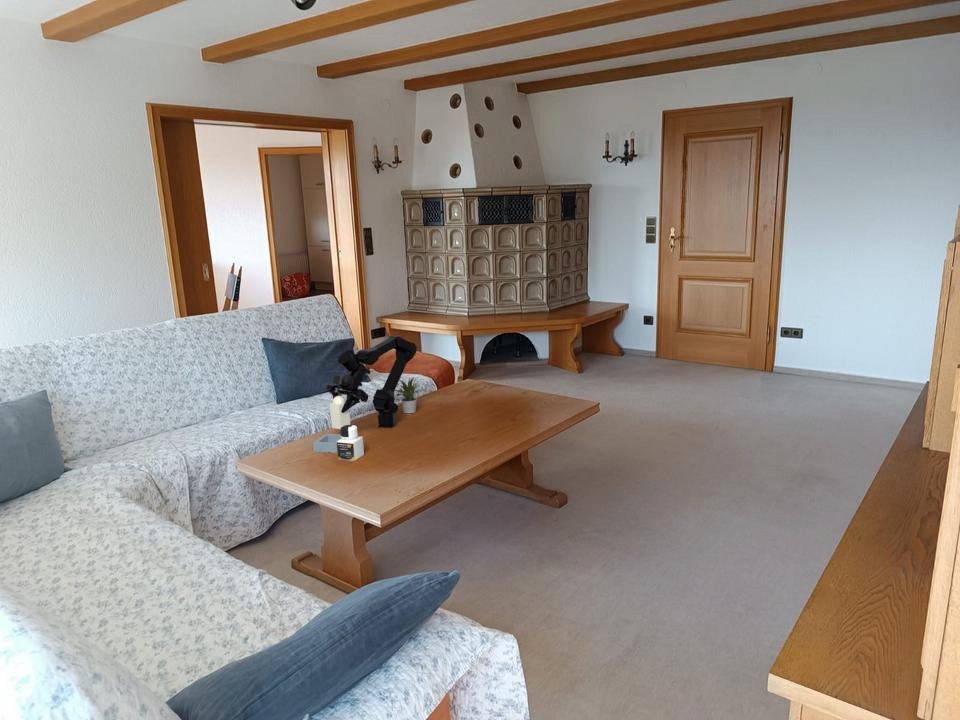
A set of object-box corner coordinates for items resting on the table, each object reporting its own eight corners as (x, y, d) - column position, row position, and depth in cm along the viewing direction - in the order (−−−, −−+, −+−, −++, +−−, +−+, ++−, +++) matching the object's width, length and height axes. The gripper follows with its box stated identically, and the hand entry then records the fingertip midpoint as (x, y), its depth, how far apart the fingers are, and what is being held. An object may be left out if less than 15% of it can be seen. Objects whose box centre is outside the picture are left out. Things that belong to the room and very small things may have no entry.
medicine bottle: (337, 459, 242) (334, 428, 240) (347, 453, 249) (345, 422, 246) (354, 461, 240) (352, 429, 237) (364, 454, 246) (362, 423, 244)
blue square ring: (352, 443, 259) (351, 434, 259) (340, 453, 249) (339, 444, 248) (326, 442, 262) (325, 433, 261) (313, 451, 252) (312, 443, 251)
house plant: (398, 407, 307) (396, 373, 304) (427, 407, 305) (425, 372, 302) (390, 416, 293) (387, 380, 290) (420, 416, 291) (418, 380, 288)
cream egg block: (341, 424, 261) (338, 393, 259) (350, 426, 259) (347, 395, 256) (332, 427, 257) (329, 396, 255) (341, 429, 255) (338, 398, 252)
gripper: (327, 364, 261) (308, 398, 255) (360, 369, 251) (341, 404, 244) (343, 379, 269) (325, 412, 263) (376, 384, 259) (358, 418, 252)
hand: (337, 411), depth 255 cm, fingers closed on cream egg block, 5 cm apart
